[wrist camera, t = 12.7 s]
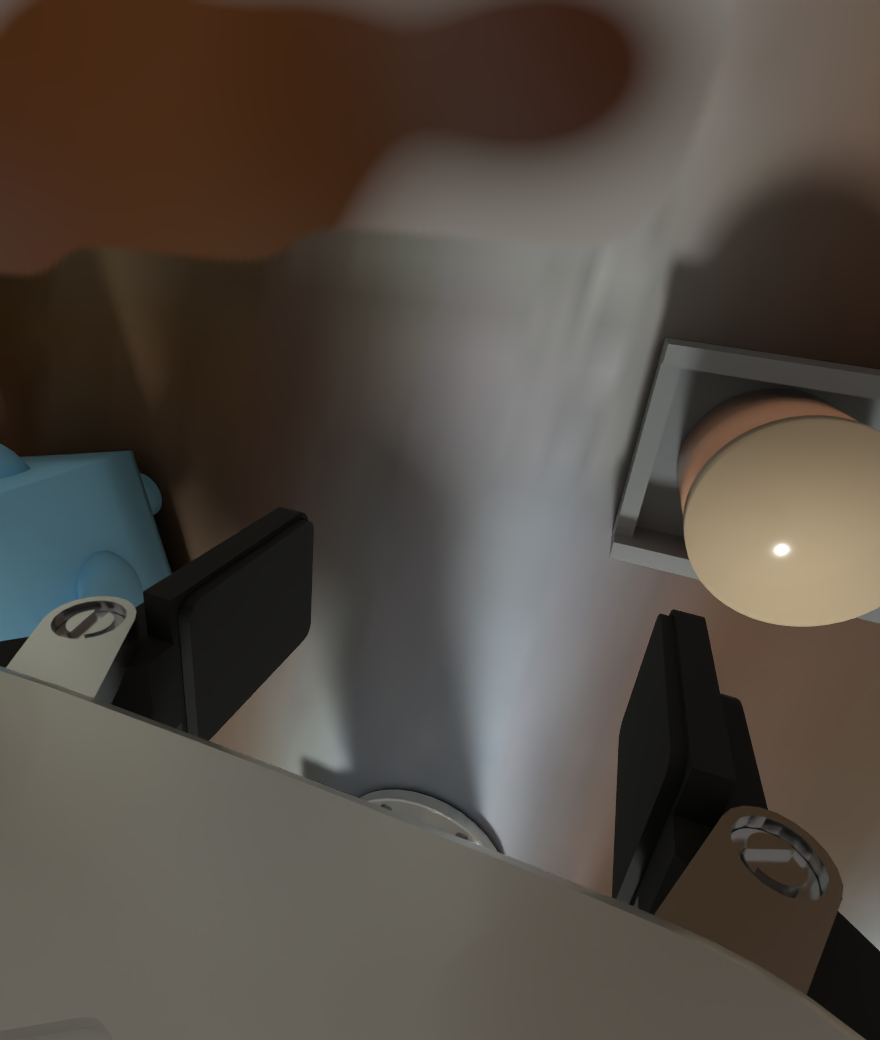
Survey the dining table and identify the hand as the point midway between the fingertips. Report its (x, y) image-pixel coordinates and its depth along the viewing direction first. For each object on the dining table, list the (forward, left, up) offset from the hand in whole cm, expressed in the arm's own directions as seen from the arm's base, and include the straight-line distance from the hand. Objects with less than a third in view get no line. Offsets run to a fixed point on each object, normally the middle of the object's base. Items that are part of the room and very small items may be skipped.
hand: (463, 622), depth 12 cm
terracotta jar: (+9, 0, -17) cm, 19 cm away
